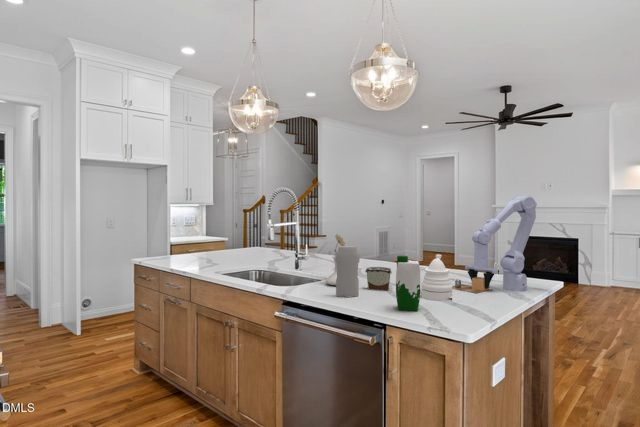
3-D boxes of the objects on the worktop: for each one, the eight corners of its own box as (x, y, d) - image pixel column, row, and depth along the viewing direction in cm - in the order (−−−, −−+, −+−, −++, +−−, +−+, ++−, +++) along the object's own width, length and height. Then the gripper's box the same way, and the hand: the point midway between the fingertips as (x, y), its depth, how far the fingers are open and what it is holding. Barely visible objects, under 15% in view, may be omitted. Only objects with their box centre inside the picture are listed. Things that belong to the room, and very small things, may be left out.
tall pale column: (335, 297, 170) (335, 246, 170) (334, 295, 175) (334, 245, 174) (360, 297, 171) (360, 245, 171) (358, 295, 175) (358, 244, 175)
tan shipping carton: (489, 289, 182) (489, 278, 182) (482, 291, 179) (483, 279, 179) (478, 287, 187) (478, 276, 186) (471, 288, 183) (472, 278, 183)
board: (493, 292, 182) (493, 289, 182) (476, 296, 173) (476, 293, 173) (462, 286, 195) (462, 283, 195) (444, 290, 186) (444, 287, 186)
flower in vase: (349, 287, 192) (349, 235, 191) (325, 287, 192) (325, 234, 191) (347, 281, 205) (348, 233, 204) (325, 281, 205) (325, 232, 204)
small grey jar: (462, 287, 185) (462, 279, 185) (458, 288, 184) (459, 280, 184) (457, 286, 187) (457, 278, 187) (453, 287, 186) (454, 279, 186)
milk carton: (395, 305, 158) (396, 254, 158) (419, 306, 157) (419, 255, 156) (395, 311, 150) (396, 257, 149) (420, 312, 148) (421, 258, 148)
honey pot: (427, 292, 181) (427, 252, 181) (456, 296, 174) (456, 254, 174) (416, 297, 171) (417, 255, 170) (446, 302, 163) (447, 258, 163)
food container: (393, 288, 189) (393, 267, 189) (391, 291, 183) (391, 269, 183) (367, 286, 193) (368, 266, 193) (365, 289, 187) (365, 268, 187)
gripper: (461, 256, 186) (461, 285, 186) (491, 260, 174) (491, 291, 175) (470, 255, 190) (469, 283, 190) (499, 258, 179) (499, 289, 179)
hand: (480, 287), depth 183 cm, fingers closed on tan shipping carton, 5 cm apart
